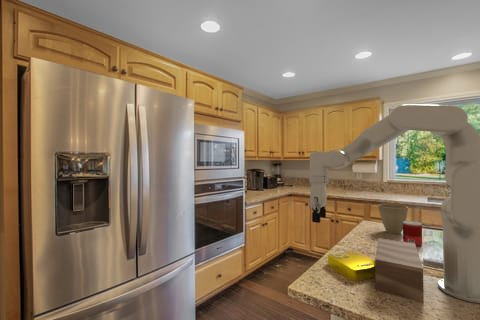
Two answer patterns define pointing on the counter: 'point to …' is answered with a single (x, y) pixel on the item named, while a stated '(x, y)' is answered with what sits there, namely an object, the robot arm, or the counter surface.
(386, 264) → the brown wooden block
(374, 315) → the counter surface
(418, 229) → the canned food
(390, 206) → the plant pot
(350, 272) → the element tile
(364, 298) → the counter surface
